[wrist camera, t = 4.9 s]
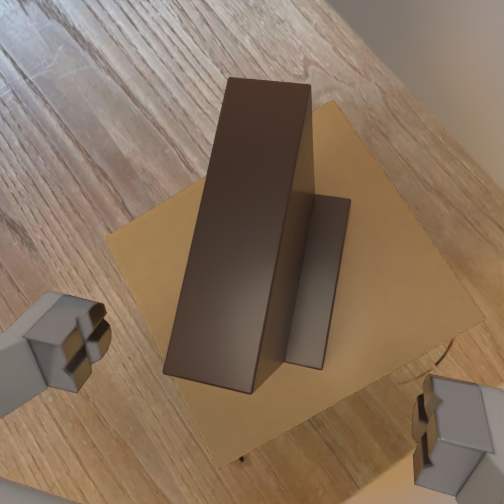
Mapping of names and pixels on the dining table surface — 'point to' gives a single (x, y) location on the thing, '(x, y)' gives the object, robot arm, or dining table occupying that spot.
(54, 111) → the dining table surface
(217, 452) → the toy box
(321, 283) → the brown upright sign stand
